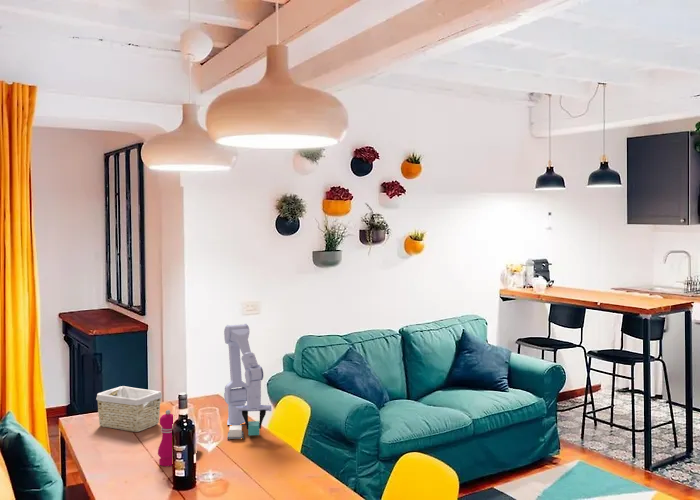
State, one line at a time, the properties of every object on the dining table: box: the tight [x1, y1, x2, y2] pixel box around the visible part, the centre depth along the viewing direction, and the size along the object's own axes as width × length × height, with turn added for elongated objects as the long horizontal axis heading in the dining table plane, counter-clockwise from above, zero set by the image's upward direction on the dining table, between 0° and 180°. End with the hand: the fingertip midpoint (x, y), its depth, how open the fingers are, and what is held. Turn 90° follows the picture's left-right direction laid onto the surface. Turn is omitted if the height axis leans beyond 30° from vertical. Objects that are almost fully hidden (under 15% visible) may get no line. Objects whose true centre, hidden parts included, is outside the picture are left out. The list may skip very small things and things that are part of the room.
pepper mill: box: [157, 409, 174, 467], centre depth 243 cm, size 7×7×20 cm
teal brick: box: [247, 420, 260, 436], centre depth 274 cm, size 6×4×4 cm
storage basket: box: [95, 385, 163, 433], centre depth 287 cm, size 24×16×15 cm
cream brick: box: [228, 425, 243, 437], centre depth 273 cm, size 6×5×3 cm
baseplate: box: [227, 430, 244, 439], centre depth 273 cm, size 7×6×1 cm
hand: (253, 428), depth 274 cm, fingers closed on teal brick, 4 cm apart
